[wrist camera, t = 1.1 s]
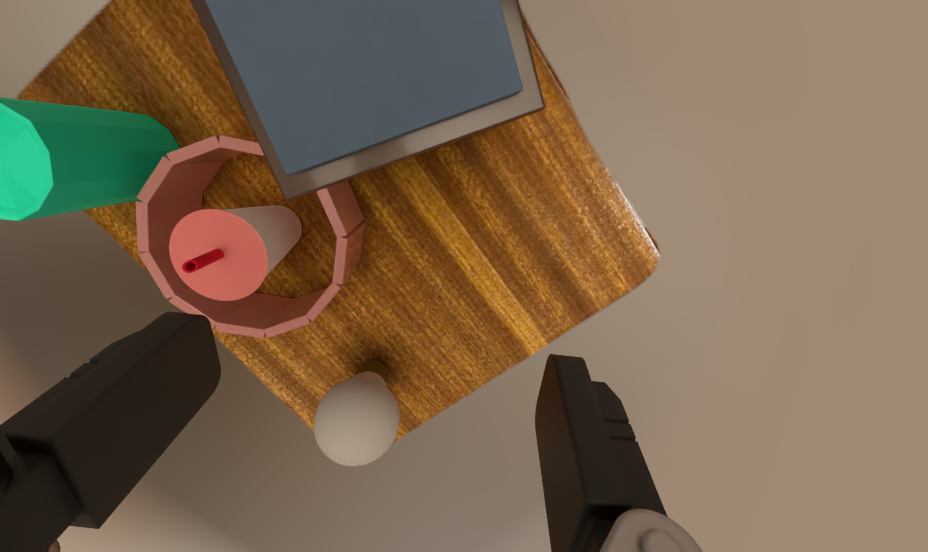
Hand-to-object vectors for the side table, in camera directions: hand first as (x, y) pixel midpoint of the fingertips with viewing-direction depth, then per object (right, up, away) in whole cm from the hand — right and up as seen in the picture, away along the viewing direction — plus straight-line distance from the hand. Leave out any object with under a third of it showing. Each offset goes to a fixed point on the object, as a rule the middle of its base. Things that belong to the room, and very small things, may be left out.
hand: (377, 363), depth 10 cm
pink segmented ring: (-12, +6, +22) cm, 26 cm away
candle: (-21, +11, +20) cm, 31 cm away
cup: (-12, +6, +22) cm, 26 cm away
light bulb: (-6, -6, +26) cm, 27 cm away
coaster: (-1, +10, +2) cm, 10 cm away
